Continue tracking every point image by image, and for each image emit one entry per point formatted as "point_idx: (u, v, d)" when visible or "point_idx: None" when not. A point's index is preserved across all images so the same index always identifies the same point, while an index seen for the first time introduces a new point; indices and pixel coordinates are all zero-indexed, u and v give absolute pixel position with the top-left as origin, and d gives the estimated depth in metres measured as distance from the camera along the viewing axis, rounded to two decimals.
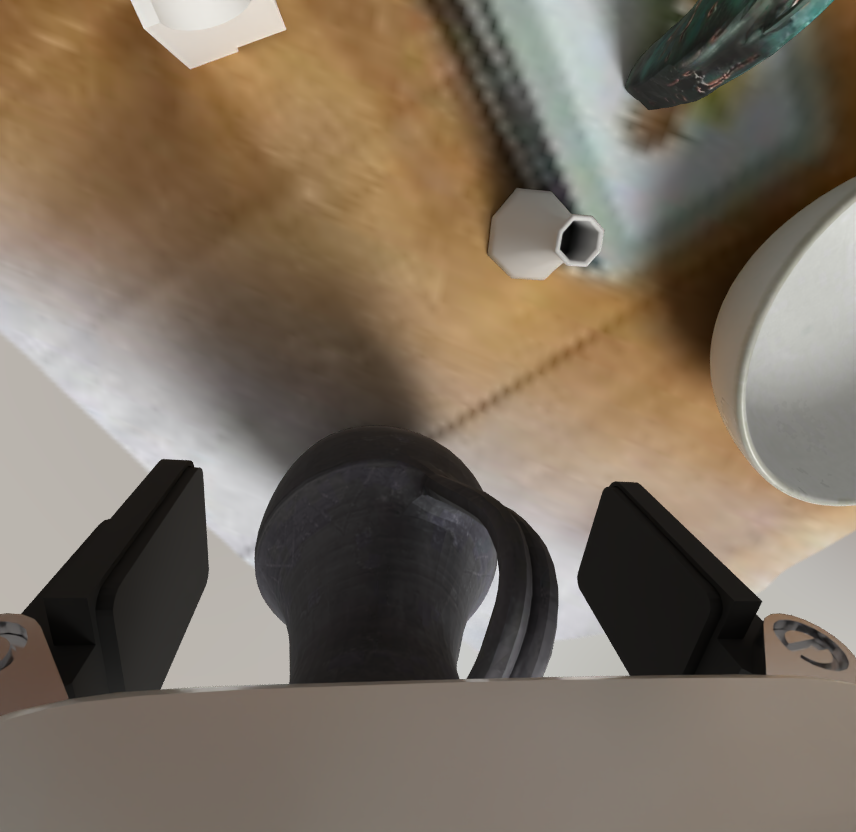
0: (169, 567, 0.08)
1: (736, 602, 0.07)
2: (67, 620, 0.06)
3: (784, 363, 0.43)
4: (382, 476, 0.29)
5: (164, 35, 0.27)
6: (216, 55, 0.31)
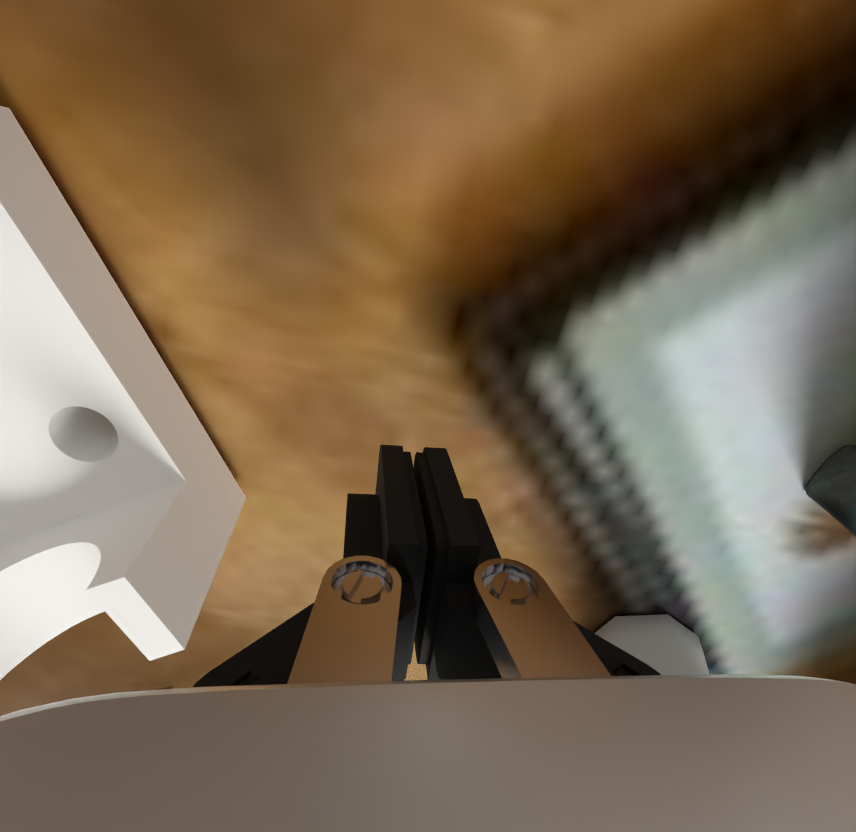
0: None
1: (453, 546, 0.08)
2: (399, 562, 0.08)
3: None
4: None
5: None
6: None
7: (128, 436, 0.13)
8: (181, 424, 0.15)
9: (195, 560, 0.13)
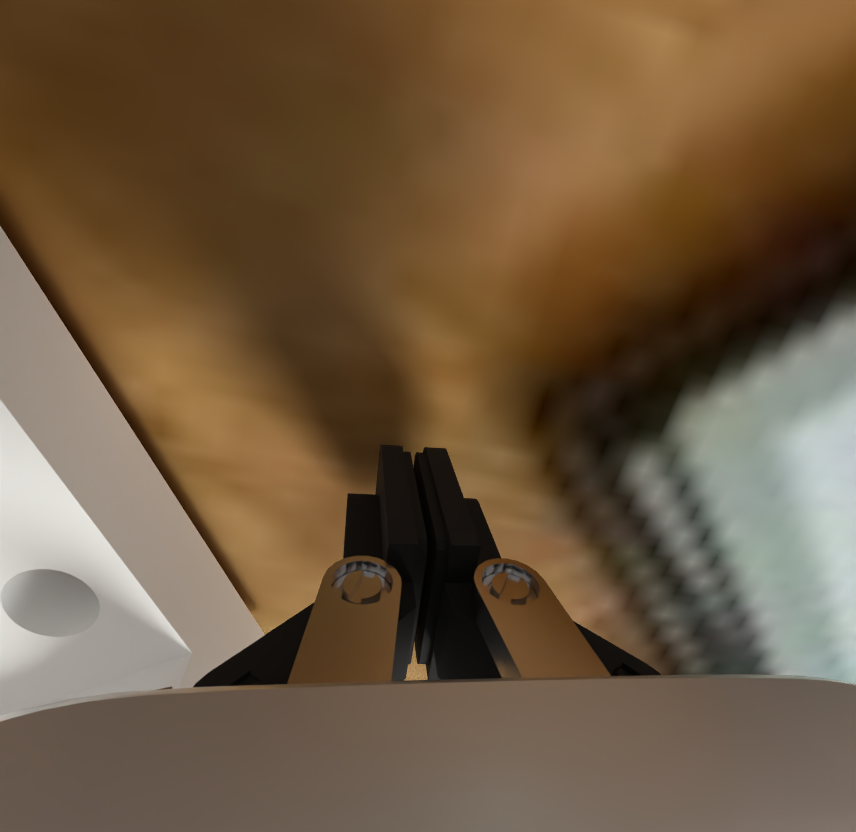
0: None
1: (453, 546, 0.08)
2: (399, 562, 0.08)
3: None
4: None
5: None
6: None
7: (114, 603, 0.10)
8: (187, 566, 0.11)
9: None
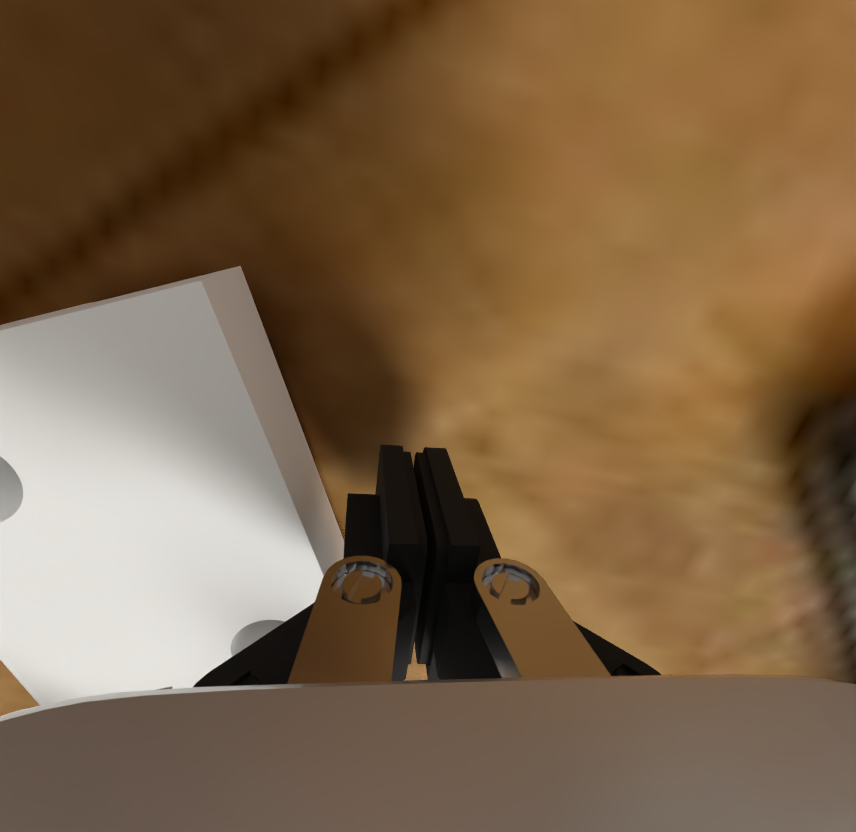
0: None
1: (453, 546, 0.08)
2: (399, 562, 0.08)
3: None
4: None
5: None
6: None
7: None
8: None
9: None
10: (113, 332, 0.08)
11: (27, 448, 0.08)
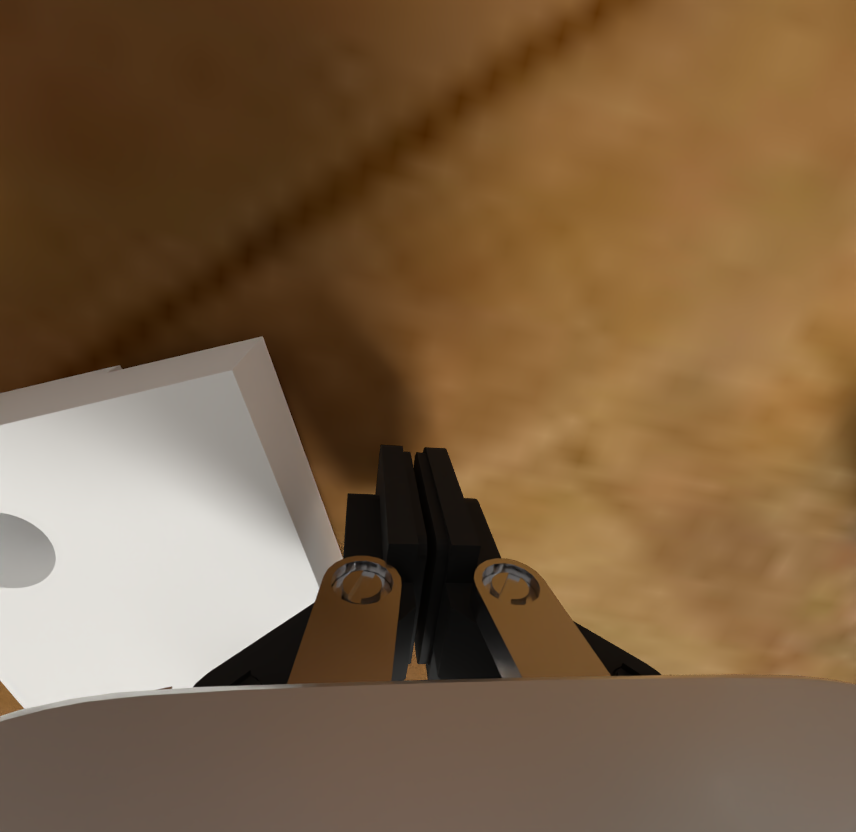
0: None
1: (453, 546, 0.08)
2: (399, 562, 0.08)
3: None
4: None
5: None
6: None
7: None
8: None
9: None
10: (147, 416, 0.08)
11: (61, 519, 0.09)
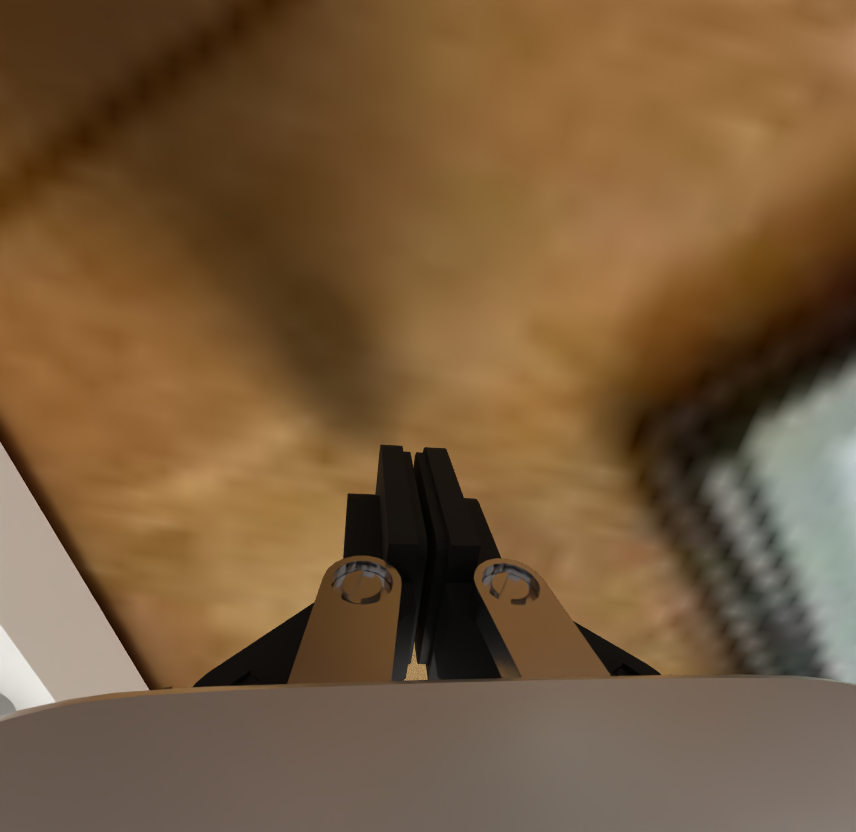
0: None
1: (453, 546, 0.08)
2: (399, 562, 0.08)
3: None
4: None
5: None
6: None
7: None
8: (101, 672, 0.13)
9: None
10: None
11: None
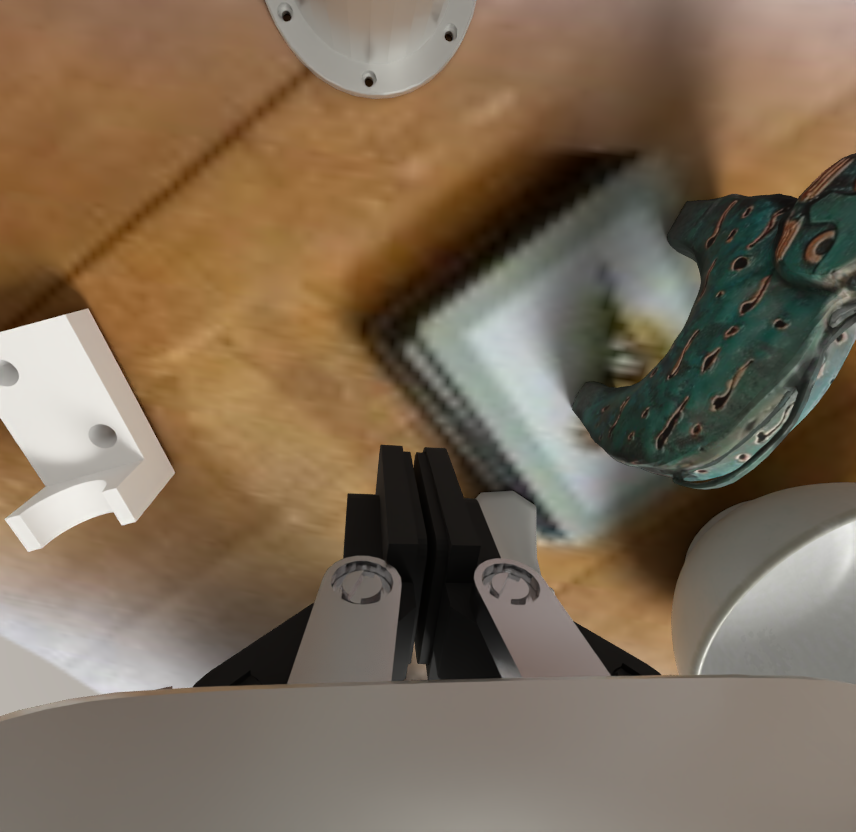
0: None
1: (453, 546, 0.08)
2: (399, 562, 0.08)
3: (746, 601, 0.46)
4: None
5: None
6: None
7: (121, 438, 0.32)
8: (145, 434, 0.34)
9: (144, 491, 0.32)
10: (42, 328, 0.29)
11: (20, 362, 0.30)
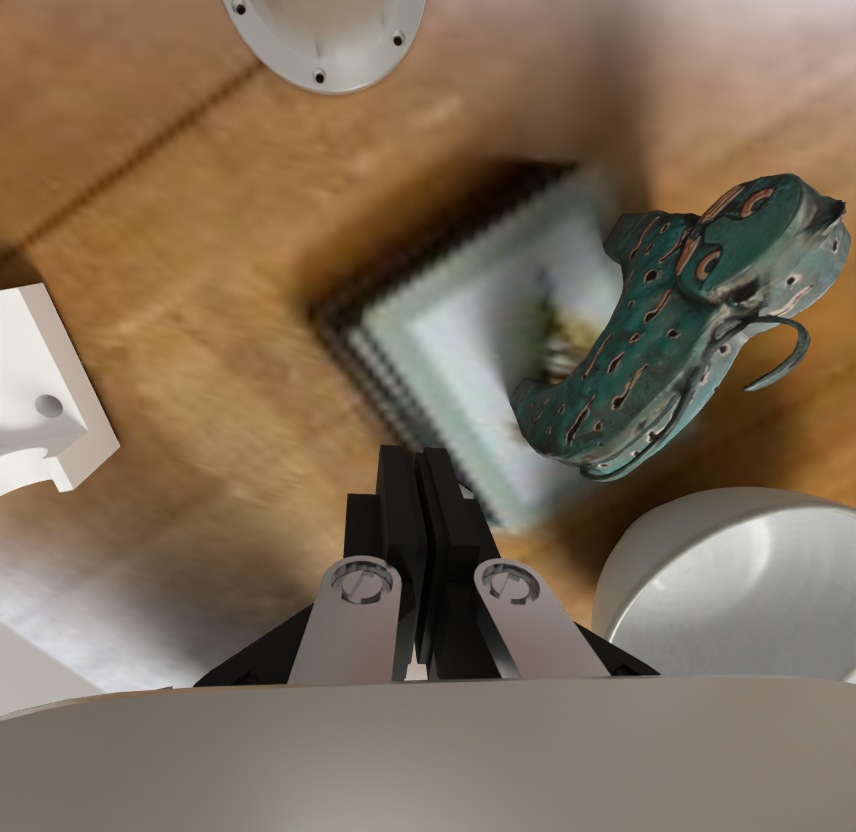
0: None
1: (453, 546, 0.08)
2: (399, 562, 0.08)
3: (669, 595, 0.49)
4: None
5: None
6: None
7: (67, 409, 0.34)
8: (92, 407, 0.35)
9: (85, 462, 0.33)
10: None
11: None
